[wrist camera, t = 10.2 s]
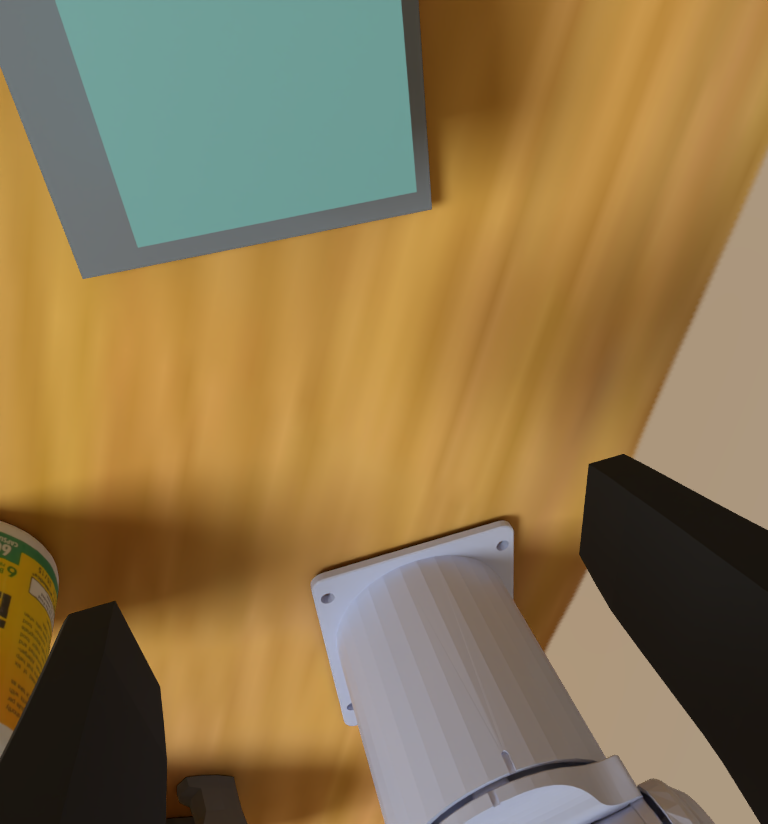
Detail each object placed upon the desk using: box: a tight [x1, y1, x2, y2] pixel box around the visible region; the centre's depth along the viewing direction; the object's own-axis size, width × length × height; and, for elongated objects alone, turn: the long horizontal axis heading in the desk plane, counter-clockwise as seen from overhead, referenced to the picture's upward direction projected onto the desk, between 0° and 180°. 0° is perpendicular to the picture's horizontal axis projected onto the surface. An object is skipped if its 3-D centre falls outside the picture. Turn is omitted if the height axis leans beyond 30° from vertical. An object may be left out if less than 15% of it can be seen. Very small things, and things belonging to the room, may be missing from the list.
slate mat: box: [0, 0, 432, 279], centre depth 14 cm, size 9×9×1 cm
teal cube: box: [55, 0, 417, 248], centre depth 12 cm, size 5×5×5 cm
